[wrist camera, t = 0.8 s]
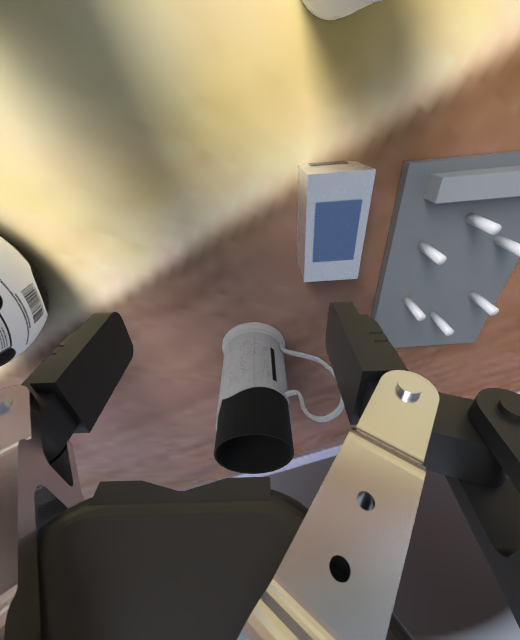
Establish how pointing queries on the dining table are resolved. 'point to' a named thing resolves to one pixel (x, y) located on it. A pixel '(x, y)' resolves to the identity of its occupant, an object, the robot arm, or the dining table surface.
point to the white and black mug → (257, 401)
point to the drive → (332, 218)
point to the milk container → (19, 302)
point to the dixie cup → (335, 7)
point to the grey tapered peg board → (449, 248)
